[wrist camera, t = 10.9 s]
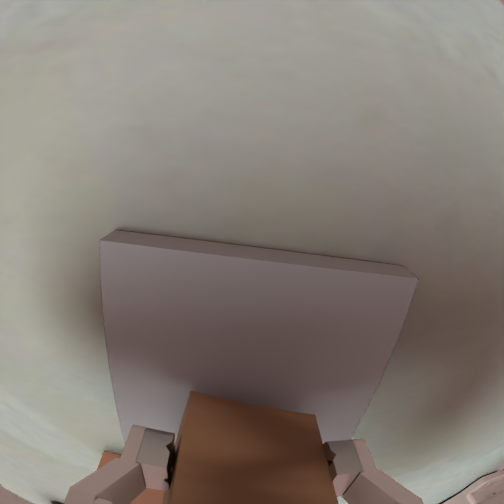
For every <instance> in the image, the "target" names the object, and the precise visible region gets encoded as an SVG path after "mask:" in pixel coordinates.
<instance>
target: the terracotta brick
mask: <svg viewBox="0 0 504 504" xmlns="http://www.w3.org/2000/svg"><path fill="white" fill-rule="evenodd" d="M120 457H121V455H118V454H114V453H110V452H107V451H104V452H103V455H102V458H101V460H100V463H99V466H98V469H100V468H101V467H103V466H104V465H106V464H107V463H109V462H110V461H112V460H113V459H115V458H120ZM98 469H97V470H98ZM164 492H165V491H163V490H157V489H151V488H146V489H145V490H144V491H143V492H142V493H141V494H140V495H139V496H138V497H137V498H136V499H134V500H133V501H132V502H131V503H130V504H162V503H163V497H164Z"/></svg>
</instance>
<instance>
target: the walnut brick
mask: <svg viewBox="0 0 504 504" xmlns="http://www.w3.org/2000/svg"><path fill="white" fill-rule="evenodd" d="M175 445H176V454H175V459H174V465H173V468H172V470H171V471H172V476H171V482H170V488H169V491H165V492H164V497H163V503H162V504H338V501H337V497H336V493H335V489H334V485H333V483H332V481H331V477H330V474H329V470H328V468H329V465H328V461H327V459H326V458H325V454H324V450H323V442H322V438H321V434H320V431H319V427H318V423H317V419H316V416H315V414H307V413H299V412H292V411H286V410H280V409H274V408H268V407H262V406H257V405H252V404H247V403H242V402H237V401H233V400H228V399H224V398H219V397H215V396H211V395H207V394H203V393H199V392H195V391H190V394H189V398H188V401H187V404H186V408H185V411H184V414H183V418H182V421H181V424H180V428H179V431H178V435H177V438H176V441H175Z"/></svg>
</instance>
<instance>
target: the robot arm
mask: <svg viewBox="0 0 504 504" xmlns="http://www.w3.org/2000/svg"><path fill="white" fill-rule="evenodd" d="M174 442H175V433H171V432H166V431H161V430H156V429H152V428H147V427H143V426H138V425H134V424H133V425H132V426H131V428H130V431H129V434H128V437H127V439H126V442H125V445H124V448H123V451H122V454H121V457H120V458H115V459H113V460H112V461H110V462H109V463H107V464H106V465H104V466H103V467H101V468H100V469H98V470H97V471H95V472H94V473H92V474H90V475H89V476H87V477H86V478H84V479H83V480H81V481H79V482H78V483H76V484H74V485H73V486H71V487H70V489H69V492H68V494H67V497H66V499H65V502H64V504H130V503H131V502H132V501H133V500H134V499H136V498H137V497H138V496H139V495H140V494H141V493H142V492H143V491H144V490H145V489H146V488H151V489H157V490H163V491H169V488H170V482H171V476H172V471H171V470H172V468H173V465H174V459H175V454H176V445H175V444H174ZM323 450H324V454H325V458H326V459H327V461H328V465H329V468H328V470H329V474H330V477H331V481H332V483H333V485H334V489H335V493H336V497H337V496H342V497H343V498H344V499H345V500H346V502H347V503H348V504H423V502H422V499H421V498H419V497H418V496H416V495H415V494H414V493H412V492H411V491H409V490H408V489H406V488H405V487H403V486H402V485H401V484H399V483H398V482H396V481H395V480H394V479H392V478H391V477H389V476H388V475H387V474H385V473H384V472H383V471H381V470H377V469H376V466H375V464H374V461H373V459H372V456H371V453H370V451H369V448H368V446H367V443H366V441H365V440H364V439H354V440H339V441H326V442H325V443H324V444H323ZM0 504H34V503H32V502H30V501H28V500H26V499H24V498H22V497H20V496H18V495H16V494H14V493H13V492H11V491H9V490H7V489H6V488H4V487H2V486H0ZM442 504H504V469H503V470H500V471H498V472H495V473H492V474H489V475H487V476H484V477H482V478H480V479H478V480H477V481H476V482H474V483H473V484H472V485H470V486H469V487H468V488H466V489H465V490H464V491H462V492H461V493H459V494H458V495H456V496H454V497H453V498H451V499H449V500H448V501H446V502H444V503H442Z"/></svg>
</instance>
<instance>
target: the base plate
mask: <svg viewBox="0 0 504 504" xmlns="http://www.w3.org/2000/svg"><path fill="white" fill-rule="evenodd" d="M100 274H101V293H102V307H103V319H104V329H105V338H106V346H107V354H108V361H109V368H110V374H111V381H112V386H113V392H114V398H115V403H116V408H117V413H118V417H119V422H120V426H121V431H122V435H123V439H124V443H125V442H126V439H127V437H128V434H129V431H130V428H131V426H132V425H133V424H134V425H138V426H143V427H147V428H152V429H156V430H161V431H166V432H171V433H175V441H176V438H177V435H178V431H179V428H180V424H181V421H182V418H183V414H184V411H185V408H186V404H187V401H188V398H189V394H190V391H195V392H199V393H203V394H207V395H211V396H215V397H219V398H224V399H228V400H233V401H237V402H242V403H247V404H252V405H257V406H262V407H268V408H274V409H280V410H286V411H292V412H299V413H307V414H315V416H316V419H317V423H318V427H319V431H320V434H321V438H322V442H323V444H324V443H325V442H326V441H339V440H350V439H351V437H352V435H353V434H354V432H355V430H356V428H357V426H358V424H359V423H360V421H361V419H362V417H363V415H364V413H365V411H366V409H367V407H368V405H369V403H370V401H371V399H372V397H373V395H374V393H375V391H376V389H377V386H378V384H379V382H380V380H381V378H382V375H383V373H384V371H385V369H386V366H387V364H388V362H389V359H390V357H391V355H392V352H393V350H394V347H395V345H396V342H397V340H398V337H399V335H400V332H401V329H402V327H403V324H404V321H405V318H406V316H407V313H408V310H409V307H410V304H411V301H412V298H413V295H414V292H415V289H416V286H417V283H418V278H417V277H416V276H415V275H413V274H412V273H411V272H409V271H408V270H407V269H406V268H404V267H403V266H400V265H392V264H385V263H377V262H369V261H362V260H354V259H346V258H338V257H330V256H323V255H315V254H307V253H299V252H291V251H283V250H275V249H267V248H259V247H251V246H243V245H235V244H227V243H219V242H210V241H202V240H194V239H186V238H178V237H169V236H161V235H153V234H144V233H136V232H128V231H119V230H114V231H113V232H111V233H110V234H108V235H107V236H105V237H104V238H102V239H101V240H100ZM174 444H175V442H174Z"/></svg>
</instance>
